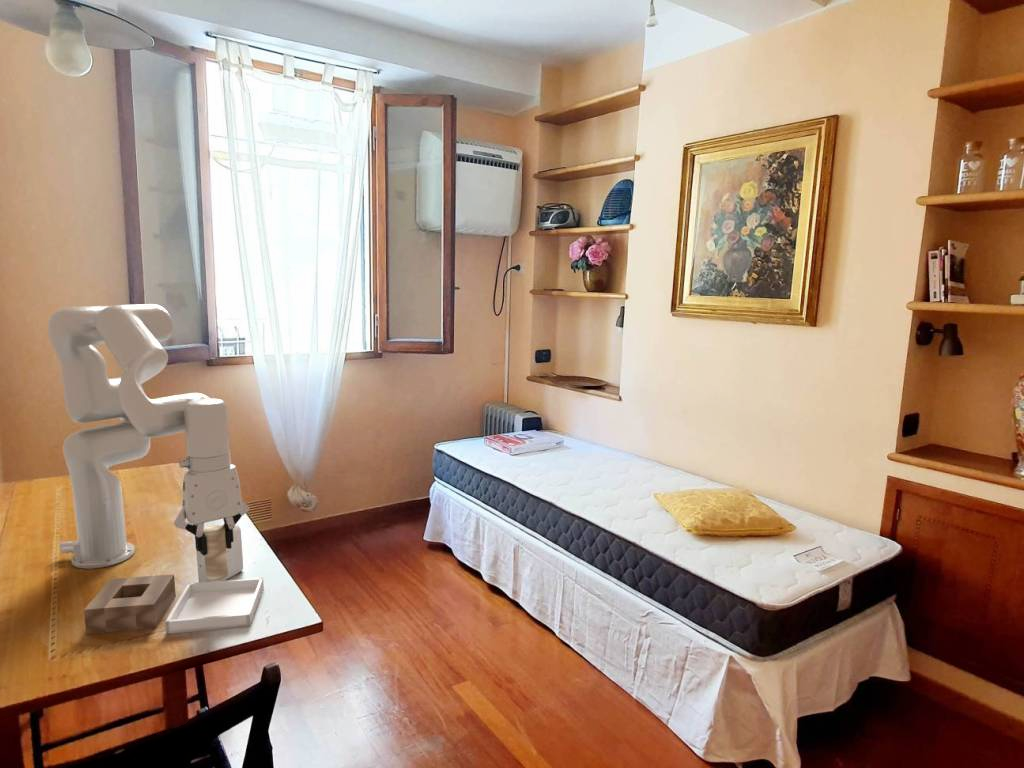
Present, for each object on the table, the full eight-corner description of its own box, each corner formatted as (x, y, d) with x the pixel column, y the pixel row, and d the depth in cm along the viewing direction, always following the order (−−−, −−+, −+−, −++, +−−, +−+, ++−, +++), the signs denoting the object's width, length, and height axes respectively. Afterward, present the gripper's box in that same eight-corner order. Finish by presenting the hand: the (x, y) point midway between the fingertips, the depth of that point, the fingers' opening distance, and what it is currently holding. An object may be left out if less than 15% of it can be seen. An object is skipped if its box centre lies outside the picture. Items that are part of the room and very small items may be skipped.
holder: (86, 633, 116) (83, 609, 115) (112, 601, 128) (110, 578, 127) (156, 627, 119) (154, 604, 118) (175, 596, 130) (174, 574, 129)
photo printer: (210, 590, 133) (206, 537, 131) (195, 586, 134) (191, 533, 132) (246, 570, 142) (243, 519, 140) (232, 566, 144) (229, 516, 142)
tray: (166, 633, 117) (165, 621, 116) (189, 594, 131) (188, 583, 131) (250, 626, 120) (249, 614, 119) (263, 588, 134) (263, 577, 134)
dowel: (209, 582, 121) (206, 535, 119) (203, 575, 124) (200, 528, 122) (230, 576, 124) (228, 529, 122) (224, 569, 127) (221, 523, 125)
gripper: (166, 475, 112) (174, 569, 115) (259, 458, 123) (264, 544, 126) (156, 465, 117) (163, 555, 120) (246, 450, 128) (251, 533, 131)
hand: (215, 548), depth 123 cm, fingers closed on dowel, 4 cm apart
